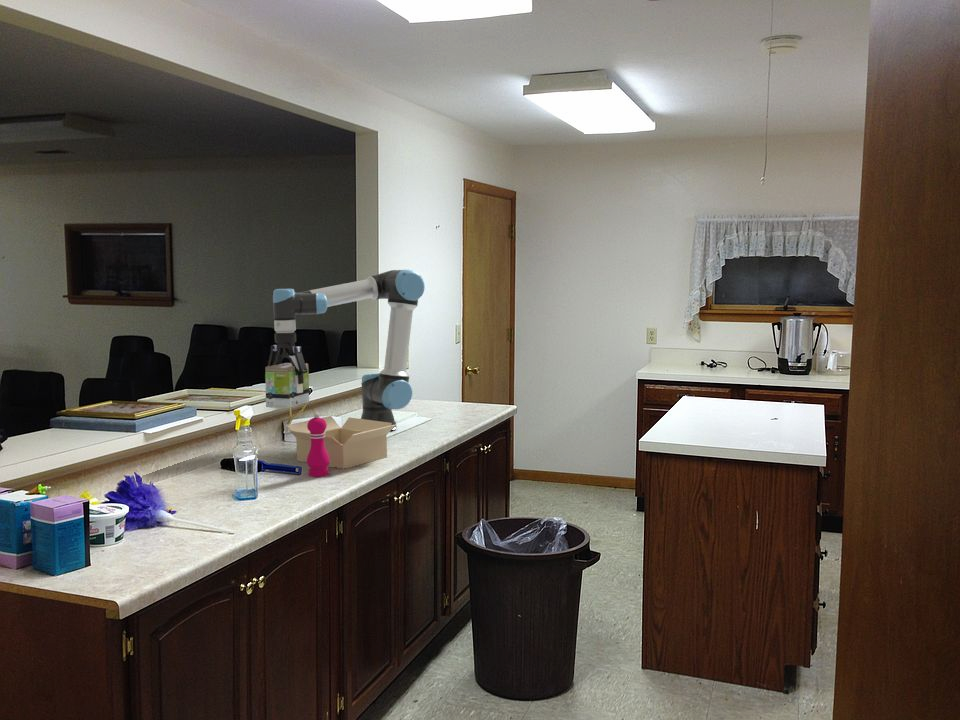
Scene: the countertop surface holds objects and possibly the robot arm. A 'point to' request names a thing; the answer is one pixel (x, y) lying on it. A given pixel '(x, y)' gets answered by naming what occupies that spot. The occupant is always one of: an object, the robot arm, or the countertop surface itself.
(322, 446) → the pepper mill
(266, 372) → the tea box
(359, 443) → the carton
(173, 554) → the countertop surface
